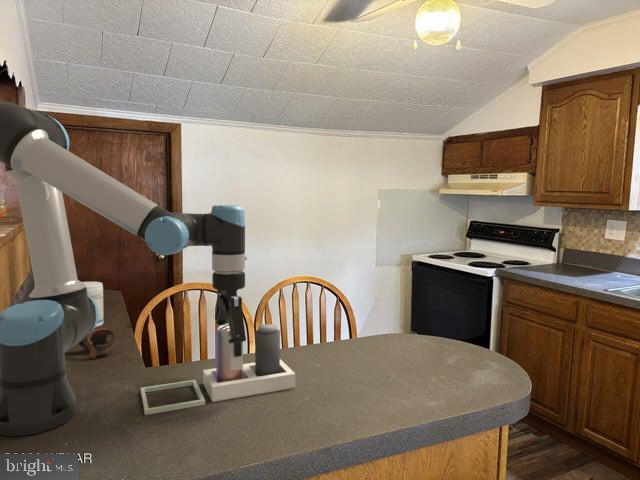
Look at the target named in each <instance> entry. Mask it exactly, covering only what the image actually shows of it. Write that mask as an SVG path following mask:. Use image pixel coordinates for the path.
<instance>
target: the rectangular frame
mask: <svg viewBox="0 0 640 480" xmlns="http://www.w3.org/2000/svg"><path fill="white" fill-rule="evenodd" d="M190 386H192V387H193V389H194V391H195V394H196V396H197V398H198V399H196V400H189V401H183V402H178V403H172V404H166V405H160V406H155V407H149V404H148V400H147V393H151V392H158V391H163V390H164V391H165V390H171V389H177V388H183V387H190ZM145 392H146V393H145ZM140 396H141V401H142V406H143V411H144V416H149V415H153V414H159V413H166V412H170V411H172V412H173V411H176V410H177V411H178V410H183V409H188V408H194V407H200V406H205V405H206V399H205V397H204V395H203V393H202V390H201V389H200V386H199V384H198V382H197V380H196V379H190V380H183V381H178V382H170V383H165V384H157V385H152V386H151V385H150V386H143V387H140Z"/></svg>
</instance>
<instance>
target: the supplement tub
mask: <svg viewBox="0 0 640 480" xmlns="http://www.w3.org/2000/svg"><path fill="white" fill-rule="evenodd" d="M81 282H82V283H84V284H85V285H86V289H87V294H88V295H89V297H90V298H92V299H93V300H94V301H95V303H96V305H97V307H98V313H99V316H98V322H97V324H96V327H95V328H98V327H101V326H102V325H103V324H104V320H105V319H104V285H103V283H102V282H100V281H81Z"/></svg>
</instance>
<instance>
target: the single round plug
mask: <svg viewBox="0 0 640 480" xmlns="http://www.w3.org/2000/svg"><path fill="white" fill-rule="evenodd" d="M280 331H281V330H280V329H278V327H277V325H276V324H270V323H269V324H268V323H265V324H261V325H258V329H256V330H255V331H254V333H255V335H254V339H255V341H254V343H255V346H254V347H255V349H254V350H255V351H254V352H255V354H254V356H255V357H254V358H255V359H254V363H255V374H256V376H257V377H259V376H265V375H272V374H278V373H280V359H281V355H280V353H281V332H280Z"/></svg>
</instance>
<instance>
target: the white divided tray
mask: <svg viewBox="0 0 640 480" xmlns="http://www.w3.org/2000/svg"><path fill="white" fill-rule="evenodd" d="M202 385H203V386H204V389H205V390H206V393H207V394H208V396H209V398H210V400H211V402H212V403H215V402H220V401H227V400H231V399H237V398H245V397H249V396H250V397H251V396H254V395H255V396H256V395H262V394H267V393H272V392H278V391H284V390H289V389H290V390H292V389H296V373H295V372H294V371H293V370H292V369H291V368H290V367H289V366H288V365H287V364H286V363H285V362H284V361H283V360H282V359H281V358H280V373H278V374H272V375H265V376H259V377H257V376H256V374H255V362H250V363H249V362H248V363H243V369H242V379H240V380H233V381H227V382H220V383H217V382H216V367H214V368H213V367H212V368H207V369H203V370H202Z"/></svg>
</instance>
